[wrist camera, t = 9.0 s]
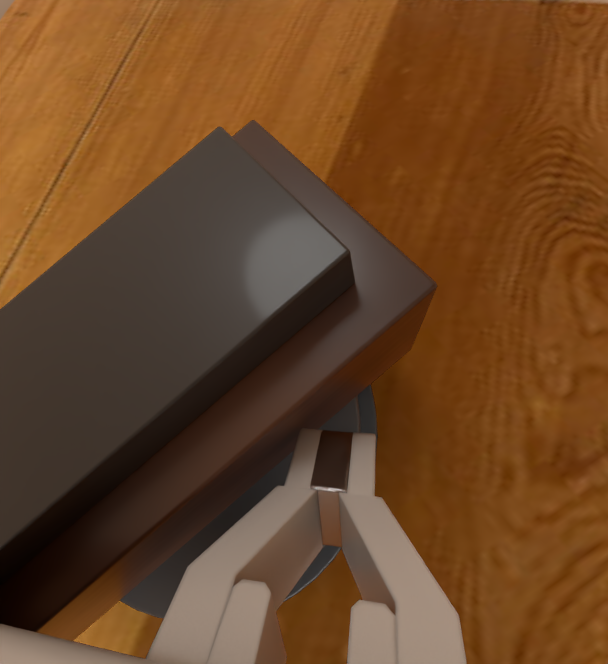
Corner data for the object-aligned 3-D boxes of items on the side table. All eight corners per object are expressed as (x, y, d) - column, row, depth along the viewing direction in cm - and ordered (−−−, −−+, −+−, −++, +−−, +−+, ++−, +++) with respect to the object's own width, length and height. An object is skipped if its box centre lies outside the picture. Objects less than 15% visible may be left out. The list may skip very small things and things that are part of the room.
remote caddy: (265, 207, 14) (156, -8, 7) (472, 418, 11) (658, 402, 4) (3, 428, 14) (-374, 429, 7) (123, 723, 10) (-411, 1343, 3)
